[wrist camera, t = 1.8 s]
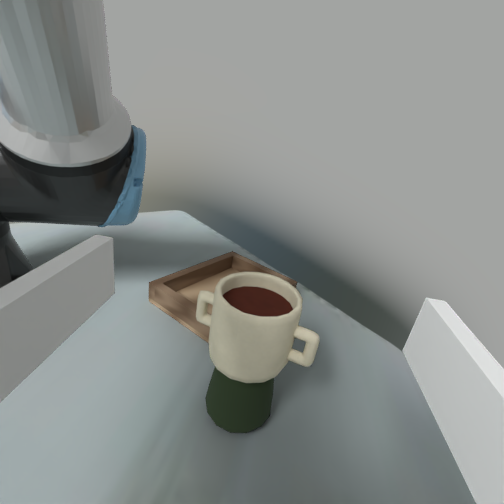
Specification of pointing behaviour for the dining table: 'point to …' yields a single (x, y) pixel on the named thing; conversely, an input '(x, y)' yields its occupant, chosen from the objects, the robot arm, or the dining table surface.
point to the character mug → (251, 345)
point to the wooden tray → (199, 288)
